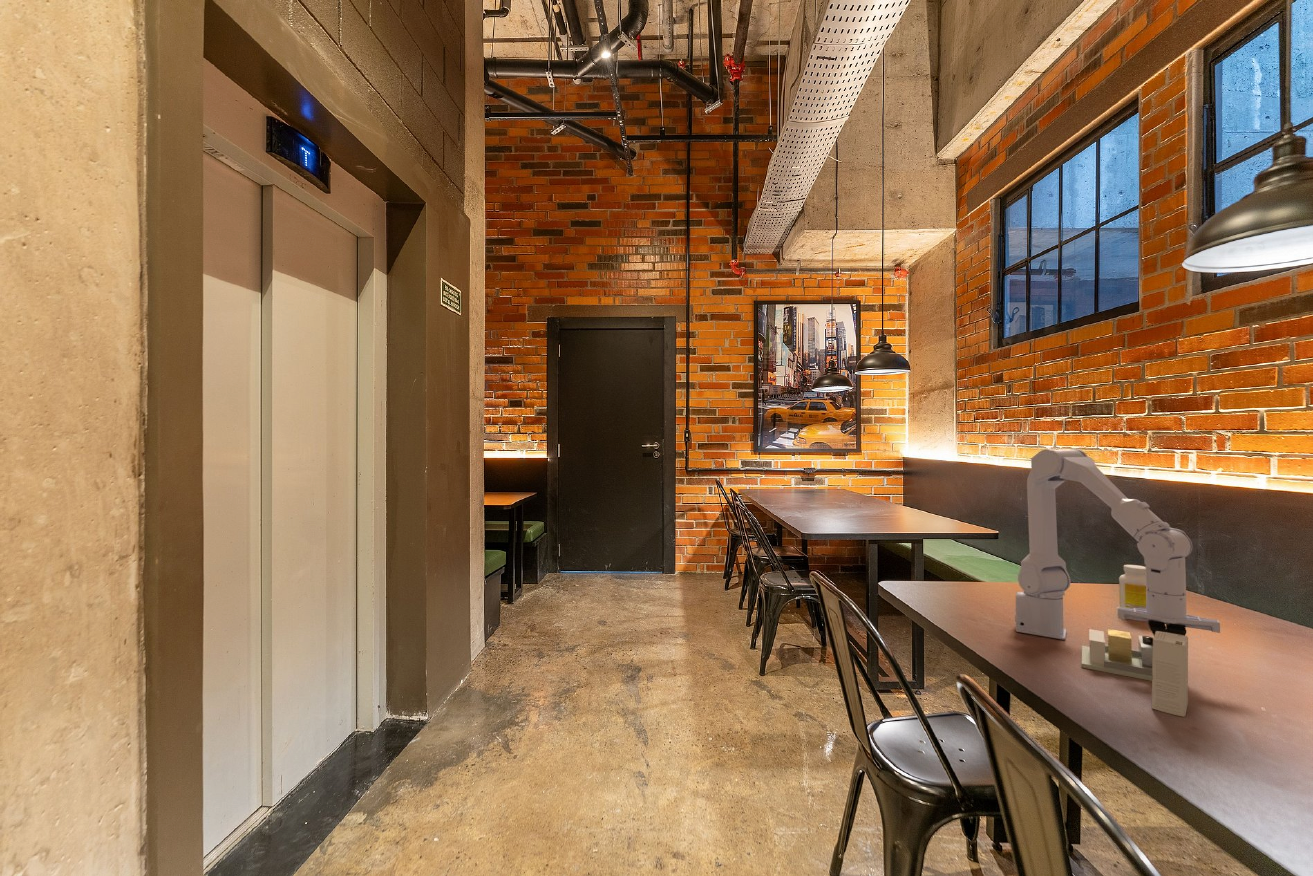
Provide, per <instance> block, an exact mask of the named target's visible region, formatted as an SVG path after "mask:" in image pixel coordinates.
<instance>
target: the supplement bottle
mask: <svg viewBox="0 0 1313 876" xmlns="http://www.w3.org/2000/svg"><path fill="white" fill-rule="evenodd" d="M1123 571H1124V574H1121V575H1120V576H1119V577H1118V582H1119V583H1118V584H1119V585H1118V586H1119V587H1118V588H1119V589H1118V590H1119V607H1126V608H1140V609H1146V566H1143V565H1136V564H1124V565H1123Z"/></svg>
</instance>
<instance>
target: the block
mask: <svg viewBox="0 0 1313 876" xmlns="http://www.w3.org/2000/svg"><path fill="white" fill-rule="evenodd" d="M1132 644H1133V643H1132V636H1131V632H1129V631H1123V630H1122V631H1121V630H1116V629H1109V628H1108V629H1107V645H1108V658H1109V661H1115V662H1120V663H1125V664H1131V665H1132V649H1133V647H1132Z"/></svg>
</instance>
